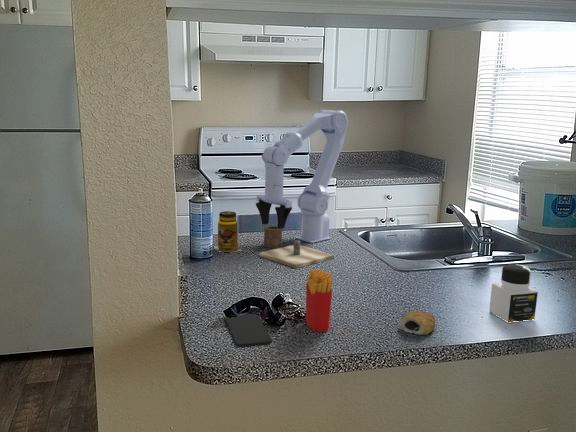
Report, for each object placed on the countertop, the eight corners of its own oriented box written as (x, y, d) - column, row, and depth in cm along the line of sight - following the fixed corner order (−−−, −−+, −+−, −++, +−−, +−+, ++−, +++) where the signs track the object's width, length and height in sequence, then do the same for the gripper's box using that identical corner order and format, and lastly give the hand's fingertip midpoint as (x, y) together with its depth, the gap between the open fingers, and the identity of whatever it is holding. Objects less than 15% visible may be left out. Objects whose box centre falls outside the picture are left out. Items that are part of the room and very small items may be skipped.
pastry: (413, 317, 129) (414, 301, 128) (442, 325, 125) (443, 308, 124) (396, 331, 121) (397, 314, 120) (426, 339, 118) (428, 322, 117)
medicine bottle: (508, 323, 126) (513, 272, 124) (488, 312, 133) (493, 262, 130) (535, 321, 128) (541, 270, 126) (514, 309, 135) (520, 260, 132)
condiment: (221, 254, 174) (221, 215, 171) (211, 247, 181) (211, 210, 179) (243, 251, 177) (243, 213, 175) (232, 244, 185) (232, 208, 182)
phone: (256, 313, 127) (273, 341, 113) (256, 317, 127) (273, 345, 113) (223, 316, 125) (236, 344, 111) (223, 320, 125) (236, 348, 111)
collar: (273, 242, 188) (273, 225, 187) (285, 246, 184) (285, 228, 183) (260, 245, 185) (260, 227, 183) (272, 249, 181) (272, 230, 179)
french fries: (301, 319, 125) (303, 267, 123) (318, 317, 127) (320, 265, 124) (317, 334, 118) (320, 279, 115) (335, 332, 119) (337, 277, 116)
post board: (296, 247, 184) (297, 232, 183) (333, 258, 172) (334, 242, 171) (259, 255, 173) (259, 239, 172) (296, 268, 162) (296, 251, 160)
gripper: (249, 182, 183) (249, 223, 185) (280, 188, 172) (279, 232, 175) (266, 180, 187) (265, 220, 190) (297, 186, 177) (295, 229, 180)
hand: (273, 226), depth 183 cm, fingers open, 7 cm apart
